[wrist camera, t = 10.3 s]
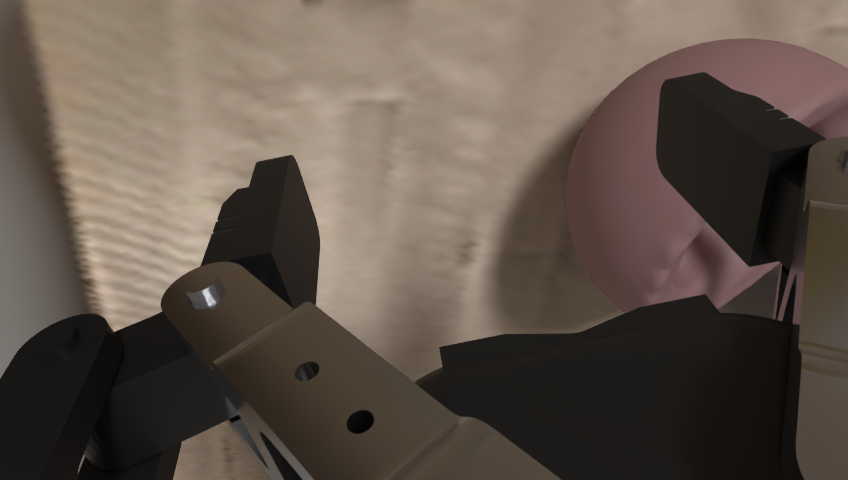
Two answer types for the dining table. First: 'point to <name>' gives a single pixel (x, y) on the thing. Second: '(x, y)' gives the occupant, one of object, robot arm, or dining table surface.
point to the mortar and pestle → (655, 197)
